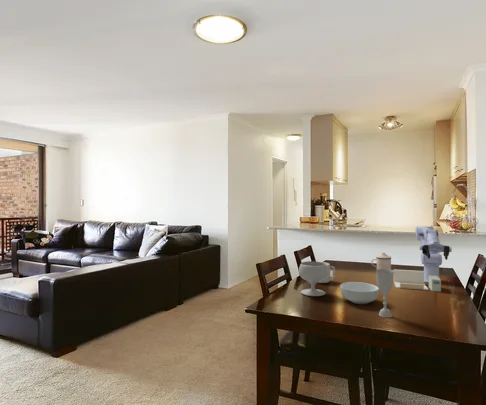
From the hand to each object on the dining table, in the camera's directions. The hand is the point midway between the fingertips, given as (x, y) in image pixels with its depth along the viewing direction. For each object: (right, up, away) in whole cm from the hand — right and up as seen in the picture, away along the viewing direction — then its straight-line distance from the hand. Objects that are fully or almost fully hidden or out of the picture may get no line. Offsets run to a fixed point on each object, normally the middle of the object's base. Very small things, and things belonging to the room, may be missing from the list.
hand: (437, 257), depth 171 cm
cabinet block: (+1, -17, +4) cm, 17 cm away
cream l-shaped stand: (-9, -17, +10) cm, 22 cm away
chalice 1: (-63, -18, -1) cm, 66 cm away
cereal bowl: (-45, -18, -15) cm, 51 cm away
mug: (-52, -18, +24) cm, 60 cm away
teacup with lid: (-9, -17, +48) cm, 52 cm away
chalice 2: (-41, -18, -34) cm, 56 cm away
